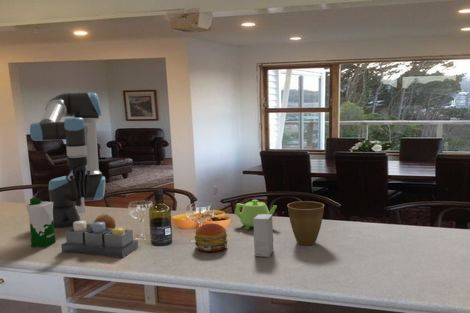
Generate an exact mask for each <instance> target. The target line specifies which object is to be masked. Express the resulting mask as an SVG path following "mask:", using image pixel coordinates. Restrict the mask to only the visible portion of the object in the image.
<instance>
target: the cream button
mask: <svg viewBox="0 0 470 313" xmlns="http://www.w3.org/2000/svg"><path fill="white" fill-rule="evenodd" d="M72 226H73V227H72V228H74V231H75V232H83V231H85V230H87V228H86V227H87V221H86V220H80V221H76V222H73V225H72Z"/></svg>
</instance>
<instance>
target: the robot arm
mask: <svg viewBox="0 0 470 313" xmlns="http://www.w3.org/2000/svg"><path fill="white" fill-rule="evenodd" d="M44 109H45V111H44V113H43V115H42V117H41V119H40V121H39V122H38V121H37V122H32V123H30V126H29V136H30V138H31V140H32V141H33V142H35V141H36V142H37V141H40V142H42V141H45V142H49V141H61V140H63V141H65V147H66V156H67V157H66V160H67V166H68V167H69V174H68V175H64V176H60V177H55V178H53V179H50V180H49V182H48V195H49V202H53V222H54V228H65V227H70V226H73V222H76V221H81V216H80V214H86V205H85V204H86V202H89V201H90V202H92V201H100V200H102V199H104V198H105V190H106V177H105V176H104V175H103V172H101V171H100V167H99V151H98V135H97V133H98V132H97V122H98V121H99V120H100V116H101V117H102V115H103V114H102V107H101V102H100V99H99V96H98V94H97V93H95V92H87V91H86V92H65V93H60V94H58V95H55V96H53V97H52V98H51V99H49V101H47V102H46V104H45V108H44ZM64 117H66V118H65V119H64V121H61V120H62V119H63V118H64Z"/></svg>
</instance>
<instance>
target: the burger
mask: <svg viewBox="0 0 470 313" xmlns="http://www.w3.org/2000/svg"><path fill="white" fill-rule="evenodd" d="M193 238H194V245H195V246H196V248H197V249H198V250H199V251H201V252H206V253H207V252H208V253H209V252H210V253H212V252H218V251H222V250H224V249H227V247H228V239H227V238H228V234H227V230H226V228H225V227H224V226H223V225H221V224H218V223H205V224H202V225H200V226H199V227H198V228H197V229H196V230H195V235H194V237H193Z"/></svg>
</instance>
